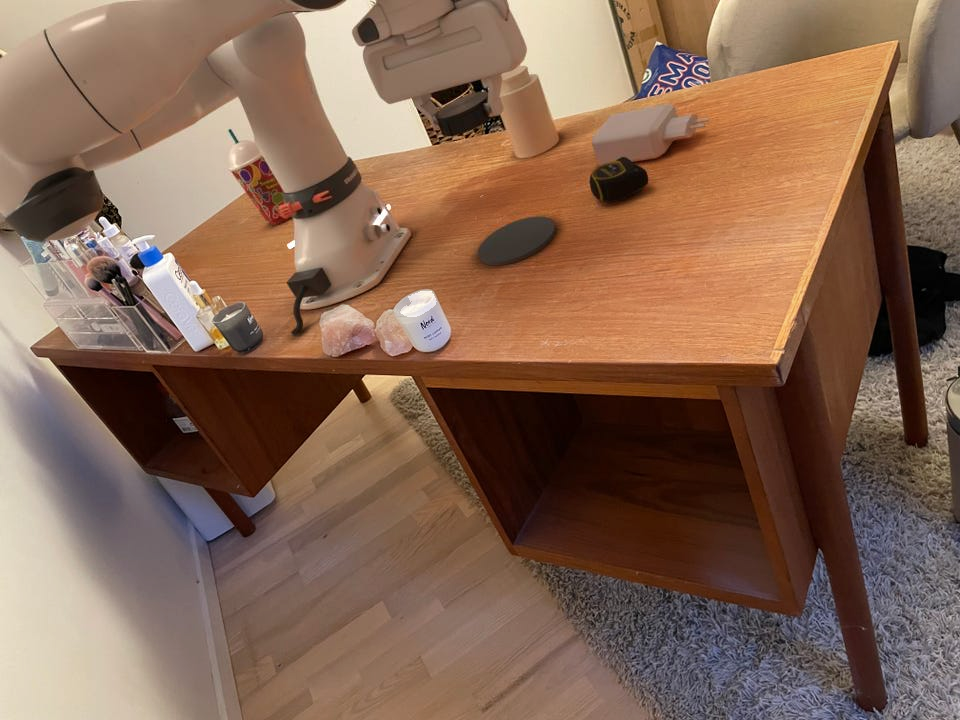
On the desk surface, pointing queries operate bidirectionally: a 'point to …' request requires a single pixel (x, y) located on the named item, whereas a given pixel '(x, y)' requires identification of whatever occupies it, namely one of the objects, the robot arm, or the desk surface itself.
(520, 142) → the jar
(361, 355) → the desk surface
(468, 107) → the lid
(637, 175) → the tape measure
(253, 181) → the smoothie
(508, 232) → the coaster
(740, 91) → the desk surface
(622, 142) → the charger
